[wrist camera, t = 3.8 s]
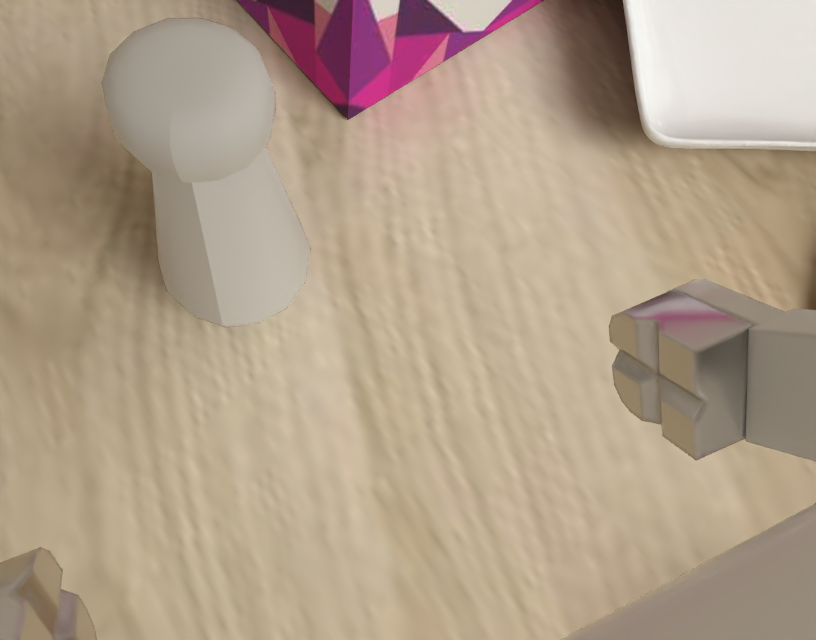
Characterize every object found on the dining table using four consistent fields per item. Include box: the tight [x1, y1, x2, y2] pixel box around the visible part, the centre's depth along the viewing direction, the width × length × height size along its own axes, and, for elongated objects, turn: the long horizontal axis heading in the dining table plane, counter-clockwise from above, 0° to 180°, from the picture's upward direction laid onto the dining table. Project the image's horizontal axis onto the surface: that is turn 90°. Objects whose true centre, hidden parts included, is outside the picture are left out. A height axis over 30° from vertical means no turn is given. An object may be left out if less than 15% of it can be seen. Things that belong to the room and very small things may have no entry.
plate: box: [623, 0, 816, 151], centre depth 36 cm, size 21×21×3 cm
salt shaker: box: [102, 18, 311, 327], centre depth 22 cm, size 6×6×13 cm
